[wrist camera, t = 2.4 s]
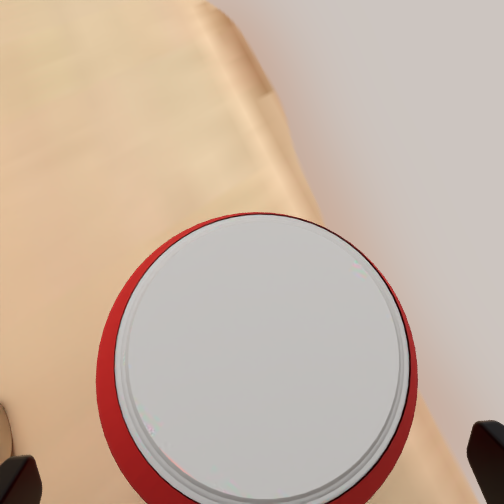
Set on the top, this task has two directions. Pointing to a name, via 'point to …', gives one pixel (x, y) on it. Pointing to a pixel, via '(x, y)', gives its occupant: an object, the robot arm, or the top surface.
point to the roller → (4, 436)
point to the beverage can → (256, 368)
